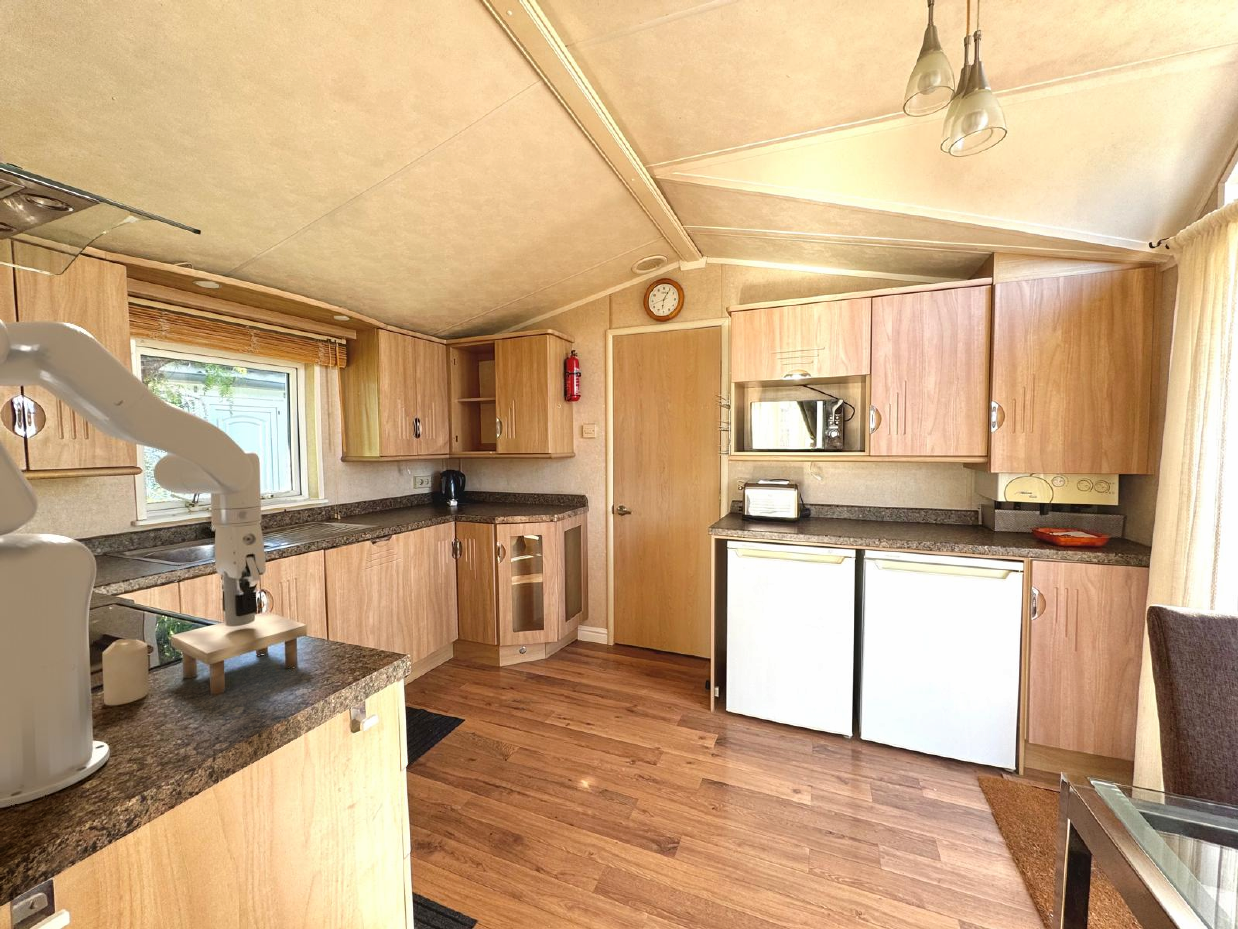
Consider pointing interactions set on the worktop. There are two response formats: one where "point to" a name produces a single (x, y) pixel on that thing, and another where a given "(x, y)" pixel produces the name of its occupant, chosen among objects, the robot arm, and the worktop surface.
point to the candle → (125, 672)
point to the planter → (230, 608)
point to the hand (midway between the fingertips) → (239, 611)
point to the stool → (236, 644)
